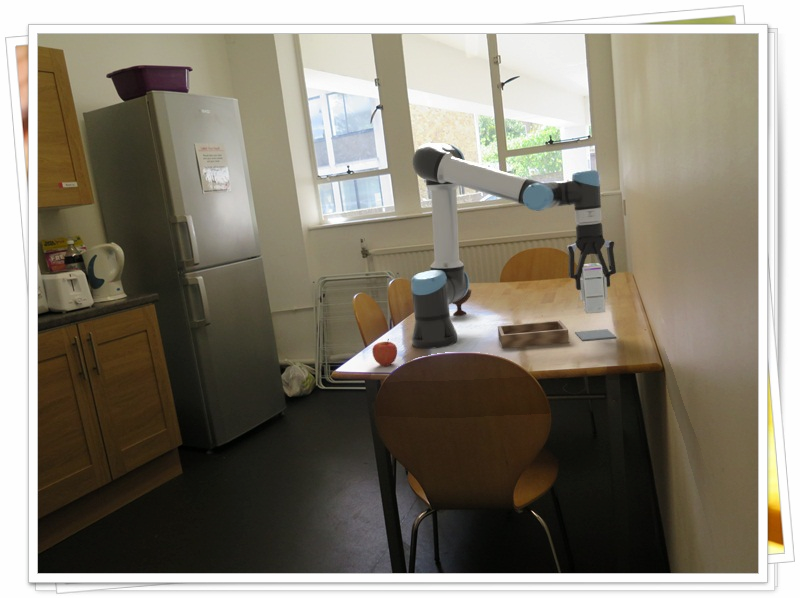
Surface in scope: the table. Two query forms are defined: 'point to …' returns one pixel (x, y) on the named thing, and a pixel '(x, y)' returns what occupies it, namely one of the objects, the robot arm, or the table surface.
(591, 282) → the syrup box
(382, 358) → the apple
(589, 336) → the mat
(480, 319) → the table surface
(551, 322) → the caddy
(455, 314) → the ice cream bowl
